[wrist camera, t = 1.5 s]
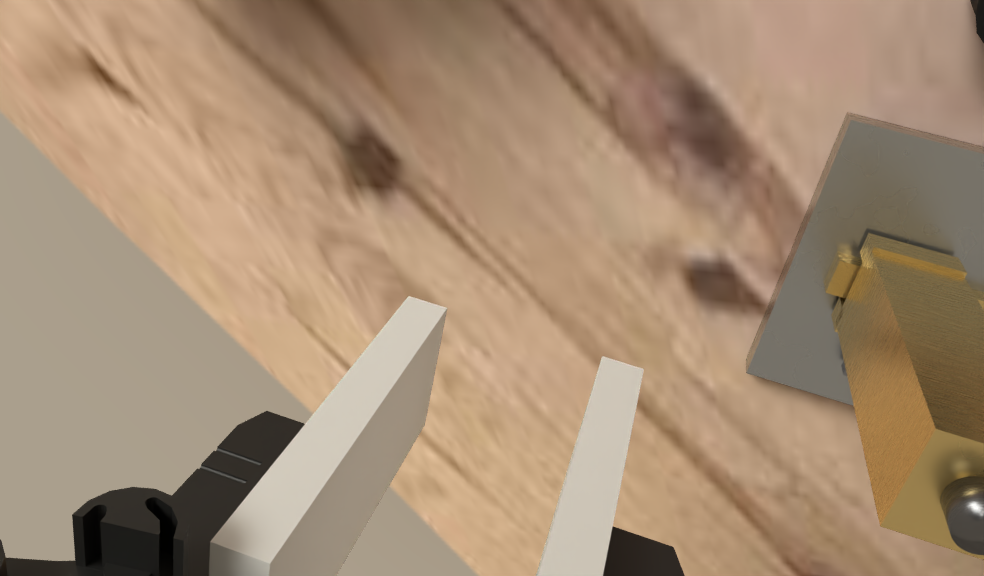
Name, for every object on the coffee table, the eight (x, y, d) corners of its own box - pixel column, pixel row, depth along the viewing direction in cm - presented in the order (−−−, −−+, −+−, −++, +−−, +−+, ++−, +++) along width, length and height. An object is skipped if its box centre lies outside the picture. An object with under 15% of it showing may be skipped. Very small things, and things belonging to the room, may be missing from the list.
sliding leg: (868, 233, 33) (949, 450, 20) (958, 257, 33) (1099, 496, 20) (812, 356, 36) (851, 615, 23) (893, 381, 35) (980, 659, 23)
